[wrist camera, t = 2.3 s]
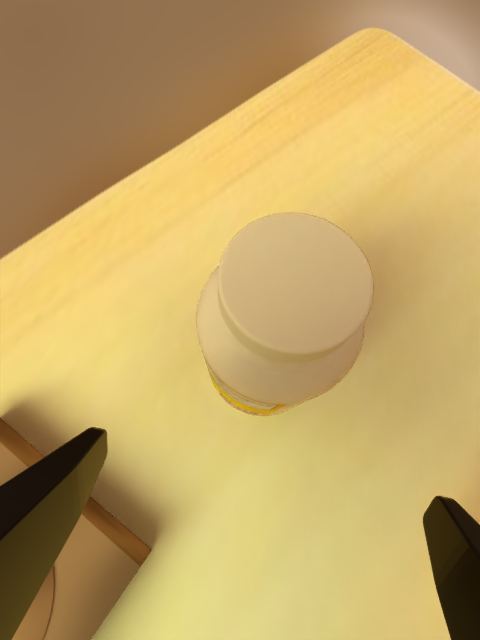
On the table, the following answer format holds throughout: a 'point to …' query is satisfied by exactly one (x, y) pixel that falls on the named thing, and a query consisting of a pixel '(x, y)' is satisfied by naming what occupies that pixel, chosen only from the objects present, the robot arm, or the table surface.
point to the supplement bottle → (284, 312)
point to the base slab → (75, 562)
